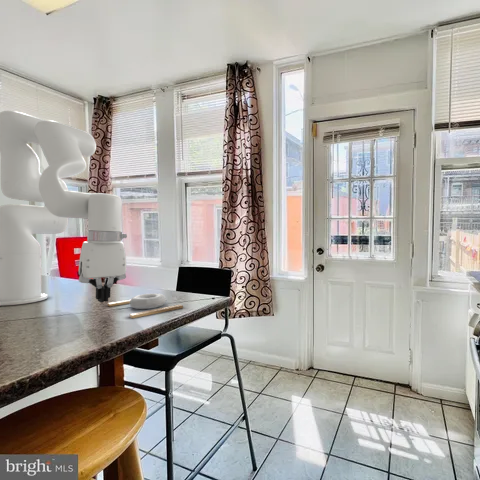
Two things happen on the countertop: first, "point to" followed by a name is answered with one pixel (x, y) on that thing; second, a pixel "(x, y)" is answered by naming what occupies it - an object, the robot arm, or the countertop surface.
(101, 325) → the countertop surface
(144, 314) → the strips
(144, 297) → the donut
